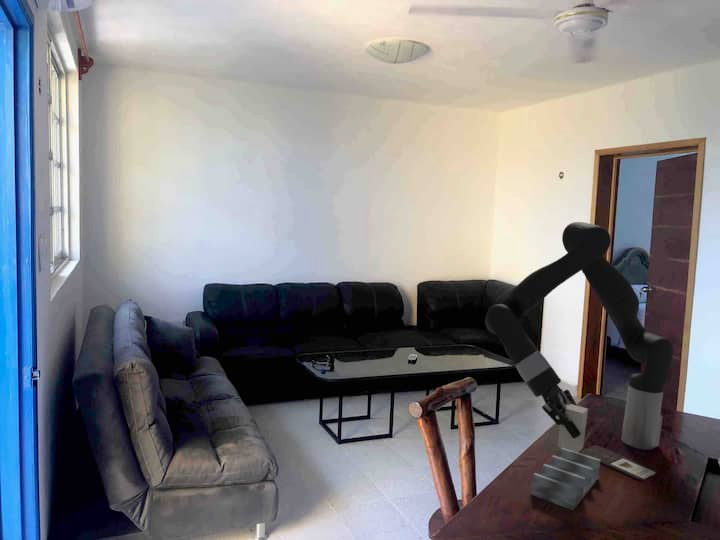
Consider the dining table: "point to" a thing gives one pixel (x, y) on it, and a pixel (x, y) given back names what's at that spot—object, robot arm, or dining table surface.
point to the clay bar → (579, 420)
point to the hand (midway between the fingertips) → (580, 433)
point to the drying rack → (566, 478)
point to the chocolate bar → (619, 463)
